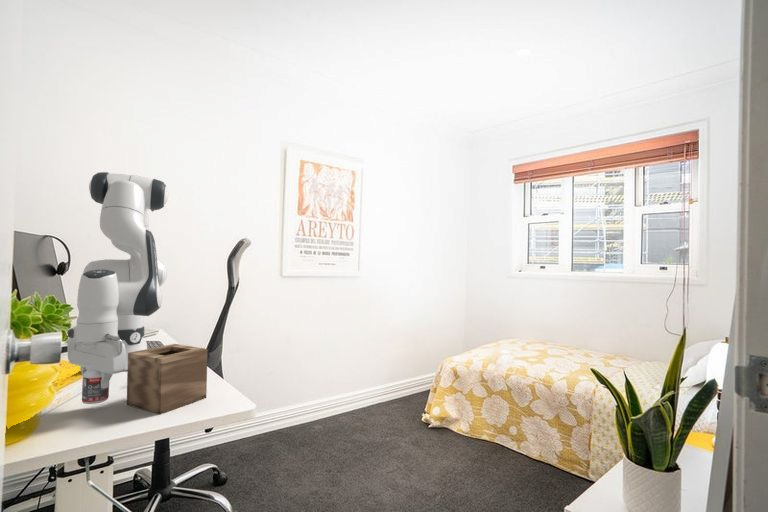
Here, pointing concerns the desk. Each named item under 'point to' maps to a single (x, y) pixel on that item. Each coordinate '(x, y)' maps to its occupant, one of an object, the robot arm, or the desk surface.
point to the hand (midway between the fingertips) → (96, 385)
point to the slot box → (166, 377)
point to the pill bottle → (93, 387)
